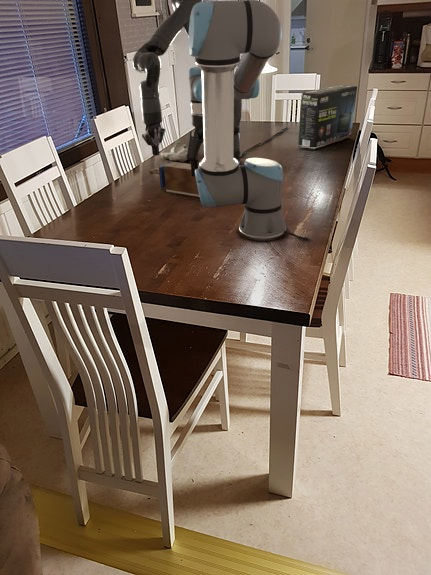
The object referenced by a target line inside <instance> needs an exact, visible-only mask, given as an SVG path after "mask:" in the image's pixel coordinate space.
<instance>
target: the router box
mask: <svg viewBox="0 0 431 575" xmlns="http://www.w3.org/2000/svg"><path fill="white" fill-rule="evenodd" d="M357 93H358V86H356V85H350V84H339V85H338V84H337V85H334V86H328V87H324V88H318V89H314V90H309V91H304V92H301V93H300V109H299V110H300V111H299V124H298V137H297V146H298V145H302V146H307V147H317V146H320V145H323V144H325V143H328V142H331V141H333V140H336V139H338V138H341V137H344V136H347V135H351V136H352V133H353V132H352V131H353V125H354V115H355V109H356V99H357ZM311 151H313V150H312V149H311Z"/></svg>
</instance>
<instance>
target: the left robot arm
mask: <svg viewBox="0 0 431 575" xmlns="http://www.w3.org/2000/svg"><path fill="white" fill-rule="evenodd" d="M200 2H204V0H170V3H171V7H172V10H173V12H172V13H170V15H169V16H167V17H166V19H164V20H163V21H162V22H161V23H160V24H159V25H158V27H157V28H156V29H155V31H154V32H153V34H152V35H151V37H150V39H149V40H148V41H146V42H145V43H144V44H143V45H142V46H141V47H140V48H139V49H137V50H136V52H135V53H134V55H133V58H132V67H133V69H134V70H135V71H136V72H138V73H141V74H146V76H145V79H144V80H142V81H140V83H139V93H140V94H139V95H140V106H141V107H140V109H141V115H142V116H141V117H142V123H143V124H144V125H145V128H144V131H145V132H144V133H142V134H141V138H142V139H143V140H144V142H145V143H146V145H147V146H151V152H152V156H156V157H157V156H159V155H160V144H162V143H163V140H164V136H165V134H166V128H163V127H162V123H163V114H162V113H163V112H162V103H161V99H160V89H159V84H160V76H161V71H162V62H161V59H160V57H162V56H164V55H165V54H166V53H167V51H168V50H169V48H170V46H171V45H172V43H173V41H174V40H175V39H176V37H177V36H178V34H179V33H180V32H181V31H182V30H184V31H185V33H186V35H187V37H188V39H189V23H190V16H191V11H192V8H193V6H194V5H195V4H197V3H200ZM242 110H243V99H238V100H234V157H235V158H236V159H237V160H238V162H239V165H241V158H242V157H243V155H244V154H245V153H246V152H248V151H249V150H251V149H253V148H254V147H256V146H258V145H257V143H255V144H256V145H255V144H253V145H254V146H253V145H251V146H252V147H251V146H250V147H251V148H249V147H248V148H249V149H248V148H246V149H247V150H246V149H245V150H246V151H244V150H243V151H244V152H243V151H242V152H243V153H242V152H241V146H240V145H241V139H240V138H241V135H240V134H241V133H240V131H241V130H240V127H241V126H240V124H241V120H242Z"/></svg>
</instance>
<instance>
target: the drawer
mask: <svg viewBox="0 0 431 575" xmlns="http://www.w3.org/2000/svg"><path fill="white" fill-rule="evenodd" d="M167 164H168V163H164V164H161V165H160V166H158V168H157V167H154V168H152V169H150V170H149V172H148V173H149V175H153V174H156V175H159V183H160V188H161V189H166V182H165V172H164V166H165V165H167Z"/></svg>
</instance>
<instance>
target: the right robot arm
mask: <svg viewBox="0 0 431 575" xmlns="http://www.w3.org/2000/svg"><path fill="white" fill-rule="evenodd" d="M282 29H283V28H282V25H281V21H280V18H279V16H278V15H277V13H276V12H275V10H274V9H272V7H270V5H268V4H267V3H265V2H263V1H260V0H208V1H203V2H200V3H197V4H195V5H194V6H193V8H192V11H191V16H190V23H189V38H188V54H189V55H190V56H191V57H193V58H194V60H195V61H194V63H195V65H196V66H193V67H190V68H189V70H188V81H189V82H188V83H189V93H190V95H189V96H190V113H191V114H192V115H191V116H190V117H191V126H192V127H194V130H190V131H189V140H188V146H187V147H188V151H187V157H186V158H187V159H188V160H189V161H190V164H191V174H192V176H193V177H196V183H197V188H198V192H199V197H198V198H199V200H200V204H201V205H202V206H203V207H205V208H218V207H226V206H227V207H228V206H229V207H230V206H238V205H239V206H240V205H244V211H243V213H242V216H241V220H240V222H239V226H238V232H239V235H240V236H241V237H242V238H244V239H247V240H250V241H254V242H271V241H277V240H279V239H281V238H283V237H285V235H286V234H288V235H290V236H292V237H295V238H296V239H299V240H304V241H308V240H309V237H305V236H301V235H298V234H295V233H292V232H290V231H287V223H286V221H285V216H284V214H283V210H282V200H283V181H284V174H283V173H284V172H283V171H284V170H283V166H282V164H280V163H279V162H278V161H276V160H272V159H268V158H263V157H250V158H246V159H245V160H244V162H243V165H240V164H239V162H238V160H237V159H236V158H235V157H234V100H238V99H242V100H250V99H256V98H258V97H259V94H260V76H261V75H262V72H263V70H264V68H265V66H266V64H267V62H268V60H269V59H271V58H272V57H273V56H274V55H276V53H277V51H278V50H279V47H280V46H281V42H282V37H283V30H282ZM235 68H236V69H235ZM202 144H203V155H204V157H203V158H202V159H200V161H199V159H198V155H199V152H200V148H201V146H202ZM198 165H200V169H199V168H198Z"/></svg>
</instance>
